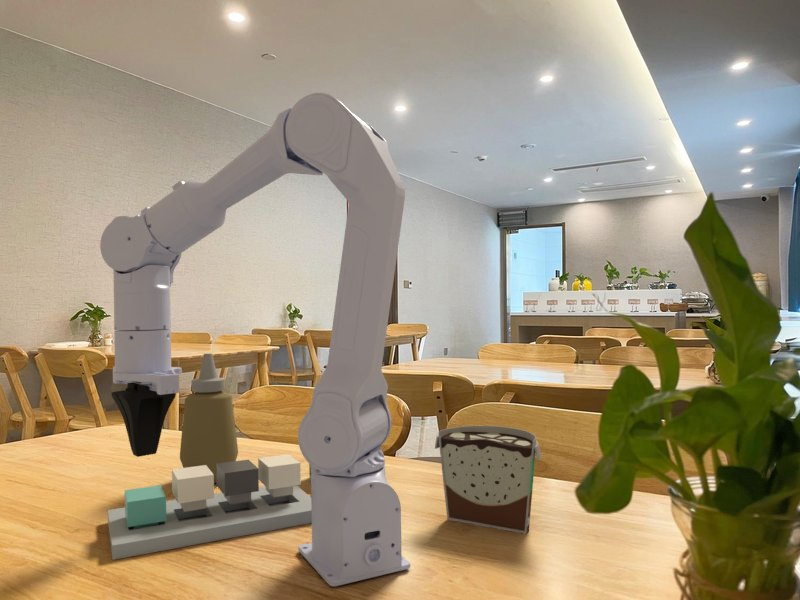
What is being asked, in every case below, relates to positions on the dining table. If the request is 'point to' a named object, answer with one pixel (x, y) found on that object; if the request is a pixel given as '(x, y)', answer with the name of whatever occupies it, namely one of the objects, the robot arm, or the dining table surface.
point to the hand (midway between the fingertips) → (144, 454)
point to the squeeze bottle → (208, 422)
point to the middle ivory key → (192, 487)
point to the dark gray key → (237, 480)
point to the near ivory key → (279, 474)
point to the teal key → (145, 506)
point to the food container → (488, 475)
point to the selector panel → (209, 522)
